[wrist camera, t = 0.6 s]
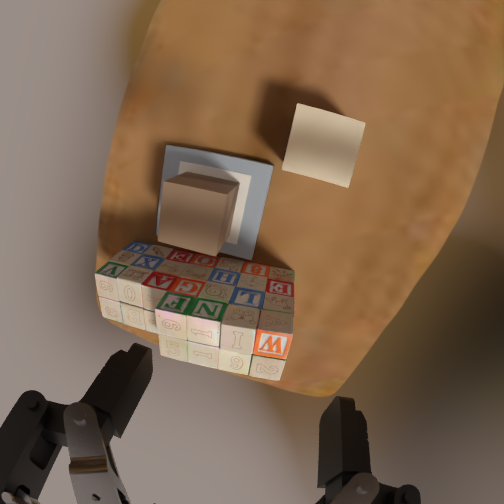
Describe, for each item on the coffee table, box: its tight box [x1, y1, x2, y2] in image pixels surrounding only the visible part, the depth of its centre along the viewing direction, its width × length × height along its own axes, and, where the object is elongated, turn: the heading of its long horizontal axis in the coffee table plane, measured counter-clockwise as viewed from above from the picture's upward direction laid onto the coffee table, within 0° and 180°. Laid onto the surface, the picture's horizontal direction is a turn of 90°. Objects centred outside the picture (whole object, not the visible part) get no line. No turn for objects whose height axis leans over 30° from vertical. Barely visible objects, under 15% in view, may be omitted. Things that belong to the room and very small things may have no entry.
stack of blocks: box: [95, 241, 295, 380], centre depth 30 cm, size 21×6×12 cm, turn 83°
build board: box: [156, 145, 274, 260], centre depth 31 cm, size 11×12×1 cm
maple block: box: [282, 103, 366, 188], centre depth 25 cm, size 6×6×6 cm
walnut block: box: [158, 172, 240, 257], centre depth 28 cm, size 6×6×6 cm
